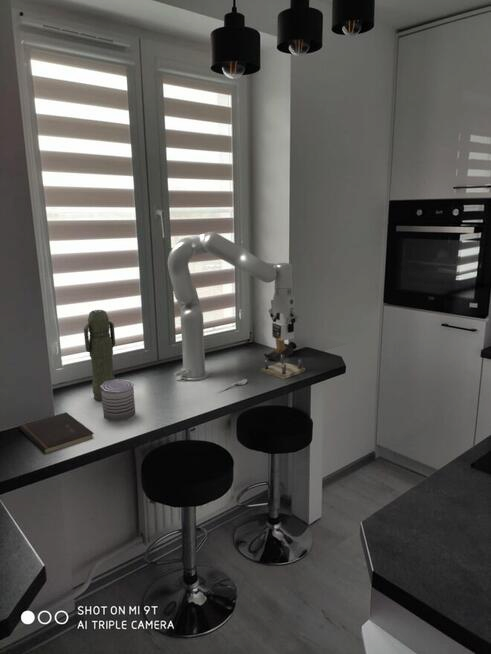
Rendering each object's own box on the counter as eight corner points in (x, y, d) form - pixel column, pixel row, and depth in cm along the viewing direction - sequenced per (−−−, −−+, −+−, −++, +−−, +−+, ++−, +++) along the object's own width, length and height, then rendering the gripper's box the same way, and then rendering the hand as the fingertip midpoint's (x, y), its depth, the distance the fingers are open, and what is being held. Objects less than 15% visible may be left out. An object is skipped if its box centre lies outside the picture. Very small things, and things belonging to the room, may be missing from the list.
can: (126, 406, 186) (123, 376, 183) (141, 415, 177) (139, 384, 174) (98, 415, 178) (95, 384, 175) (112, 424, 170) (109, 392, 167)
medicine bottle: (272, 337, 220) (272, 311, 217) (285, 335, 223) (285, 309, 220) (280, 340, 214) (280, 314, 211) (294, 338, 217) (294, 312, 214)
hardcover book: (67, 418, 178) (66, 412, 177) (94, 439, 161) (93, 432, 160) (20, 431, 167) (20, 425, 167) (44, 455, 150) (44, 448, 150)
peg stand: (284, 378, 212) (284, 366, 211) (261, 371, 222) (261, 360, 221) (305, 371, 222) (305, 359, 220) (282, 364, 232) (282, 353, 230)
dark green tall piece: (124, 395, 197) (117, 309, 189) (99, 404, 188) (91, 315, 180) (111, 390, 202) (103, 307, 194) (86, 399, 193) (77, 312, 185)
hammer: (273, 366, 236) (265, 308, 225) (265, 364, 239) (257, 307, 228) (297, 350, 250) (291, 294, 239) (289, 348, 253) (282, 293, 242)
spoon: (250, 383, 209) (250, 380, 208) (214, 397, 194) (213, 393, 194) (243, 381, 211) (243, 377, 211) (207, 394, 197) (207, 390, 197)
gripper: (304, 292, 210) (303, 332, 214) (274, 288, 222) (274, 325, 226) (292, 295, 205) (292, 335, 209) (262, 290, 217) (263, 328, 221)
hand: (283, 330), depth 218 cm, fingers closed on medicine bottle, 8 cm apart
